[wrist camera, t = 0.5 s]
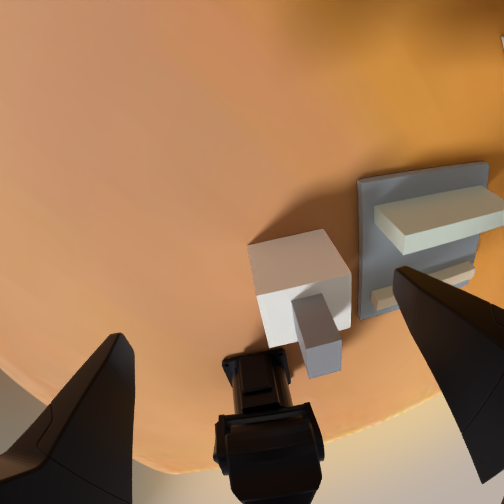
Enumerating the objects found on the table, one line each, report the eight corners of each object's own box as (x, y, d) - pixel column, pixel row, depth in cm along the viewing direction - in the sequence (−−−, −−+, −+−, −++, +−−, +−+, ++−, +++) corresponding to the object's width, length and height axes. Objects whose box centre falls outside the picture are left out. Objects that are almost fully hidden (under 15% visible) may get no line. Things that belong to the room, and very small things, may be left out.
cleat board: (464, 280, 29) (490, 310, 24) (357, 315, 29) (378, 356, 24) (484, 161, 21) (524, 183, 17) (357, 179, 22) (393, 210, 17)
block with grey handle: (326, 278, 26) (369, 370, 18) (258, 294, 26) (278, 394, 18) (323, 228, 23) (377, 316, 15) (246, 245, 24) (265, 345, 15)
